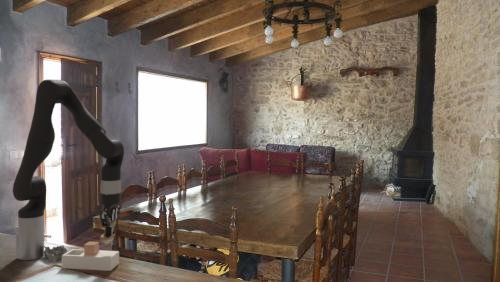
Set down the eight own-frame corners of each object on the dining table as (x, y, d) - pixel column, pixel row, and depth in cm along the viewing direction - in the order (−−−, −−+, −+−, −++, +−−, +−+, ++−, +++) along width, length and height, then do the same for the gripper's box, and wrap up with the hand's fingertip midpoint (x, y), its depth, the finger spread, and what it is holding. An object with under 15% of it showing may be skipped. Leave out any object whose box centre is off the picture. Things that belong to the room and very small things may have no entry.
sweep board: (61, 268, 146) (61, 255, 146) (72, 261, 154) (72, 248, 154) (110, 270, 145) (110, 257, 145) (119, 263, 152) (119, 251, 152)
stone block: (84, 254, 147) (84, 244, 147) (89, 251, 151) (89, 241, 151) (94, 255, 147) (94, 245, 147) (99, 251, 151) (99, 241, 151)
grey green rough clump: (42, 255, 159) (42, 245, 159) (62, 251, 164) (62, 242, 164) (48, 262, 151) (48, 252, 151) (68, 259, 156) (68, 249, 156)
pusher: (99, 242, 146) (104, 221, 145) (106, 237, 152) (111, 217, 151) (106, 244, 146) (112, 223, 145) (113, 239, 151) (118, 219, 151)
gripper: (109, 187, 155) (108, 229, 156) (92, 194, 141) (92, 240, 142) (127, 188, 154) (126, 230, 155) (112, 195, 140) (111, 241, 141)
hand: (110, 234), depth 148 cm, fingers closed on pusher, 2 cm apart
